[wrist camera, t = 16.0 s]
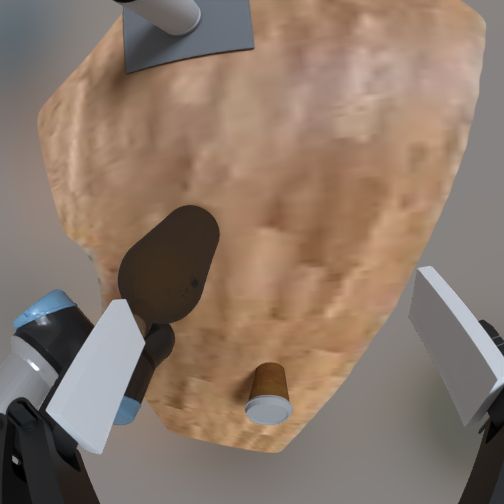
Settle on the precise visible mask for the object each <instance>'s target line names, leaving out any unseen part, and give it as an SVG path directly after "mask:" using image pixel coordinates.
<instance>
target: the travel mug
mask: <svg viewBox="0 0 504 504" xmlns="http://www.w3.org/2000/svg"><path fill="white" fill-rule="evenodd" d="M113 1H115V2H117V3H118V4H120V5H122V6H124V7H126V8H127V9H129V10H131V11H133V12H134V13H136V14H138V15H139V16H141V17H143V18H144V19H146V20H148V21H149V22H151V23H152V24H154V25H156V26H157V27H159V28H160V29H162V30H163V31H165V32H166V33H168V34H169V35H172V36H184V35H187V34H189V33H191V32H193V31H194V30H195V29H196V28H197V27H198V26H199V25H200V23H201V20H202V11H201V9H200V8H199V7H198V5H197V4H196V3H195V2H194V0H113Z"/></svg>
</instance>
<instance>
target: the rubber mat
mask: <svg viewBox="0 0 504 504" xmlns="http://www.w3.org/2000/svg"><path fill="white" fill-rule="evenodd" d="M194 2H195V3H196V4H197V5H198V7H199V8H200V9H201V11H202V20H201V23H200V25H199V26H198V27H197V28H196V29H195V30H194V31H193V32H191V33H189V34H187V35H184V36H172V35H169V34H168V33H166V32H165V31H163V30H162V29H160V28H159V27H157V26H156V25H154V24H152V23H151V22H149V21H148V20H146V19H144V18H143V17H141V16H139V15H138V14H136V13H134V12H133V11H131V10H129V9H127V8H126V7H124V6H123V26H124V49H125V65H126V73H127V74H129V73H132V72H135V71H139V70H142V69H145V68H149V67H153V66H157V65H161V64H165V63H169V62H173V61H177V60H182V59H187V58H192V57H197V56H202V55H208V54H214V53H221V52H228V51H235V50H244V49H254V39H253V31H252V22H251V13H250V5H249V0H194Z"/></svg>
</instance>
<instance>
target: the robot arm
mask: <svg viewBox="0 0 504 504" xmlns="http://www.w3.org/2000/svg"><path fill="white" fill-rule="evenodd" d="M409 319H410V321H411V322H412V324H413V326H414V328H415V329H416V331H417V333H418V335H419V336H420V338H421V340H422V342H423V343H424V345H425V347H426V349H427V350H428V353H429V354H430V356H431V358H432V360H433V362H434V364H435V366H436V368H437V370H438V372H439V374H440V375H441V377H442V379H443V382H444V383H445V386H446V388H447V390H448V392H449V394H450V396H451V398H452V400H453V402H454V405H455V407H456V409H457V411H458V413H459V416H460V418H461V420H462V422H463V425H464V427H467V426H469V425H471V424H473V423H476V422H478V421H480V420H481V419H482V417H483V416H484V415H485V413H486V412H488V414H489V416H490V417H489V419H488V420H487V421H486V422H485V424H484V425H483V426H482V427H481V428H480V430H479V432H478V433H479V434H480V433H481V432H482V431H483V430H484V429H485V431H484V434H483V438H482V442H481V445H480V449H479V451H478V455H477V457H476V460H475V463H474V466H473V469H472V472H471V474H470V477H469V479H468V482H467V484H466V487H465V489H464V492H463V494H462V496H461V498H460V501H459V503H458V504H504V341H503V339H502V338H501V337H499V334H498V333H497V331H496V330H495V329H494V327H493V326H491V325H490V324H489V323H487V322H486V321H484V320H480V321H477V320H476V318H475V317H474V316H473V315H472V313H471V312H470V311H469V309H468V308H467V307H466V306H465V304H464V303H463V302H462V301H461V299H459V297H458V296H457V295H456V294H455V292H454V291H453V290H452V289H451V288H450V286H449V285H448V284H447V283H446V282H445V281H444V280H443V278H441V276H440V275H439V274H438V273H437V272H436V271H435V270H434V269H433V267H432V266H428V267H422V268H417V274H416V280H415V286H414V292H413V297H412V302H411V307H410V312H409ZM13 326H14V329H15V330H16V333H15V334H14V335H13V336H12V337H11V353H10V354H9V355H8V357H7V358H6V359H5V361H4V362H3V363H2V364H1V366H0V504H100V502H99V500H98V498H97V496H96V493H95V491H94V489H93V486H92V484H91V481H90V479H89V477H88V474H87V471H86V469H85V466H84V463H83V460H82V457H81V454H80V453H79V451H78V450H77V449H76V447H77V445H78V444H80V445H81V446H82V447H83V448H84V449H85V450H86V451H90V452H93V453H97V454H102V451H103V448H104V445H105V443H106V440H107V437H108V435H109V432H110V429H111V427H112V424H114V425H126V424H129V423H131V422H132V421H133V420H134V418H135V416H136V414H137V412H138V411H139V409H140V408H141V403H142V400H143V398H144V395H145V393H146V390H147V388H148V385H149V383H150V380H151V378H152V375H153V373H154V371H155V369H156V368H157V367H158V366H159V365H160V363H161V362H162V361H163V360H164V359H166V358H167V357H168V356H169V355H170V353H171V351H172V349H173V346H174V343H175V336H174V332H173V330H172V328H171V326H170V325H169V323H168V324H156V323H153V324H152V326H151V328H150V330H149V333H148V334H147V335H146V336H145V338H144V339H143V337H142V335H141V333H140V330H139V328H138V326H137V324H136V322H135V319H134V317H133V315H132V312H131V310H130V308H129V305H128V303H127V301H126V299H120V300H112V302H111V303H110V305H109V306H108V307H107V309H106V310H105V312H104V313H103V315H102V316H101V318H100V320H99V321H98V322H97V324H96V326H94V325H93V324H92V323H91V322H90V321H89V319H88V318H87V317H86V316H85V315H84V314H83V313H82V311H81V310H80V309H79V308H78V307H77V304H76V303H74V302H73V301H71V299H70V298H69V297H68V296H67V295H66V293H65V292H63V291H62V290H58V289H57V290H53V291H51V292H50V293H48V294H47V295H45V296H44V297H42V298H41V299H40V300H38V301H37V302H36V303H34V304H33V305H32V306H31V307H30V308H28V309H27V310H26V311H25V312H24V313H22V314H21V315H20V316H19V317H18V318H17V319H16V320H15V321H14V322H13ZM48 392H49V393H48ZM46 395H47V396H46ZM45 397H46V398H45ZM44 398H45V400H44ZM43 400H44V402H43V404H42V405H41V407H40V409H39V411H38V410H37V409H38V407H39V406H40V404H41V403H42V401H43ZM12 455H13V456H14V457H16V458H17V459H18V460H19V461H18V465H17V464H15V463H14V462H13V461H12Z"/></svg>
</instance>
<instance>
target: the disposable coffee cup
mask: <svg viewBox="0 0 504 504" xmlns="http://www.w3.org/2000/svg"><path fill="white" fill-rule="evenodd" d="M292 410H293V409H292V406H291V404H290V402H289V395H288V389H287V384H286V377H285V371H284V368H283V367H282V366H281V365H279V364H276V363H264V364H262V365H260V366H259V367H258V368H257V370H256V374H255V378H254V381H253V385H252V389H251V393H250V396H249V400H248V402H247V404H246V405H245V412H246V414H247V417H248V418H249V419H250V420H251V421H253V422H255V423H258V424H262V425H276V424H280V423H283V422H285V421H286V420H288V419H289V417H290V414H291V413H292Z"/></svg>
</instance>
